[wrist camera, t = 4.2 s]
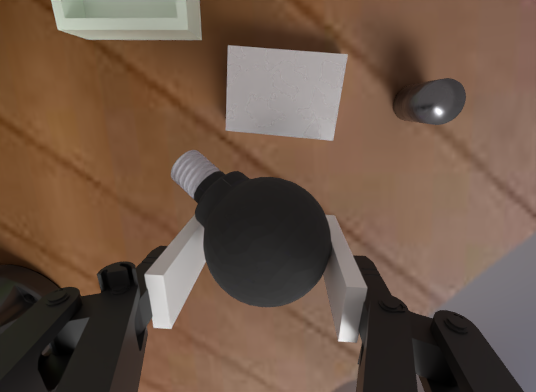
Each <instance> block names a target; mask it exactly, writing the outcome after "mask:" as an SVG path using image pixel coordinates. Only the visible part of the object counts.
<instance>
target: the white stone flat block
mask: <svg viewBox="0 0 536 392" xmlns="http://www.w3.org/2000/svg"><path fill="white" fill-rule="evenodd" d="M347 56H348V54H336V53H322V52H309V51H296V50H283V49H270V48H257V47H244V46H231V45H228V60H227V101H226V131H237V132H247V133H258V134H268V135H279V136H289V137H300V138H310V139H321V140H331V141H333V138H334V132H335V126H336V120H337V114H338V108H339V103H340V97H341V91H342V85H343V79H344V73H345V67H346V62H347Z"/></svg>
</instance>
